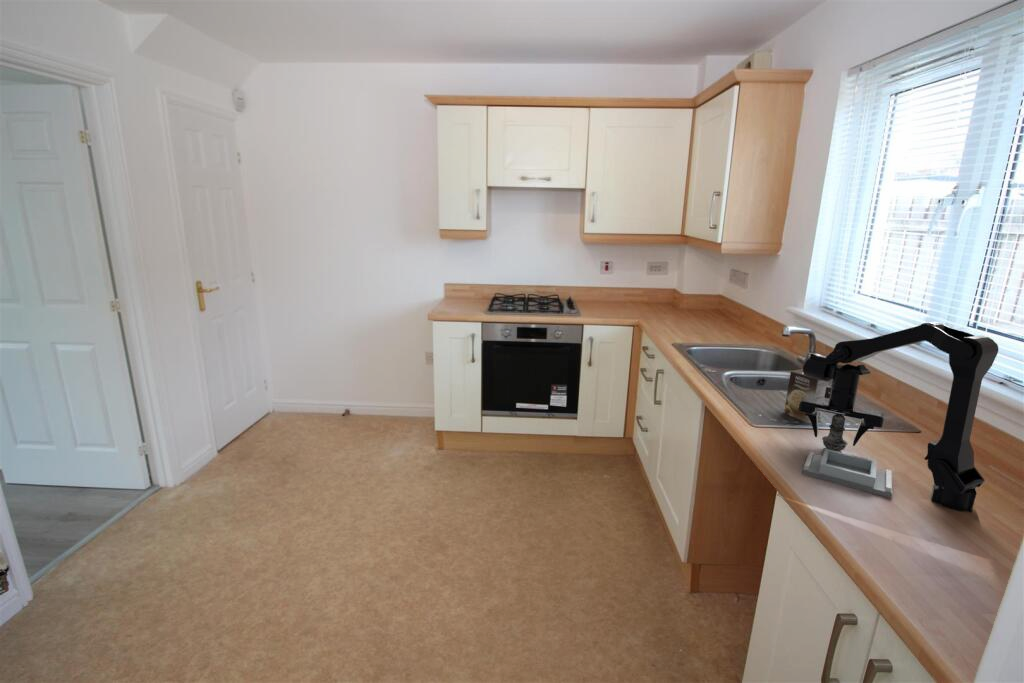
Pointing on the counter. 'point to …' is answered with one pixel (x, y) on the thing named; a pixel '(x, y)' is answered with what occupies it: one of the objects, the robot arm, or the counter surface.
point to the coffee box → (803, 393)
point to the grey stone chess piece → (835, 435)
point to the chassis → (849, 472)
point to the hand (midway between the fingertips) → (834, 441)
